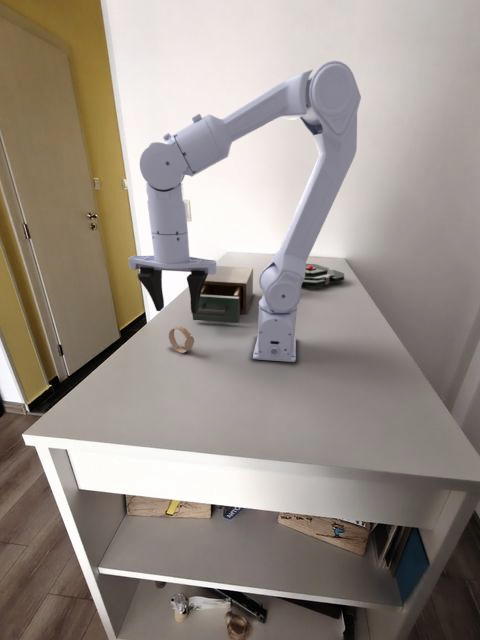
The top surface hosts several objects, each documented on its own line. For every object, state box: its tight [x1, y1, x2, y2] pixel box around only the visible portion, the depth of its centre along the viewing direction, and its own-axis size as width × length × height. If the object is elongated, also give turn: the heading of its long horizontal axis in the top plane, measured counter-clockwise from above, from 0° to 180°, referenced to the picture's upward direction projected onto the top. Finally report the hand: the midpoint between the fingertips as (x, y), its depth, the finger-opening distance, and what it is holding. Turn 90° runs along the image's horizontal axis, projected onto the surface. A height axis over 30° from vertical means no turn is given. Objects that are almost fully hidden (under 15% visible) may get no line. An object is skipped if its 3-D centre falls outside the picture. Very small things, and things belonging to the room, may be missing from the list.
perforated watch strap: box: [168, 325, 195, 354], centre depth 63 cm, size 3×5×5 cm, turn 58°
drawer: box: [191, 284, 243, 324], centre depth 76 cm, size 17×10×6 cm, turn 175°
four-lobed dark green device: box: [301, 263, 345, 288], centre depth 106 cm, size 18×18×5 cm
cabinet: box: [204, 265, 254, 314], centre depth 86 cm, size 14×12×8 cm
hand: (177, 310), depth 60 cm, fingers open, 6 cm apart
